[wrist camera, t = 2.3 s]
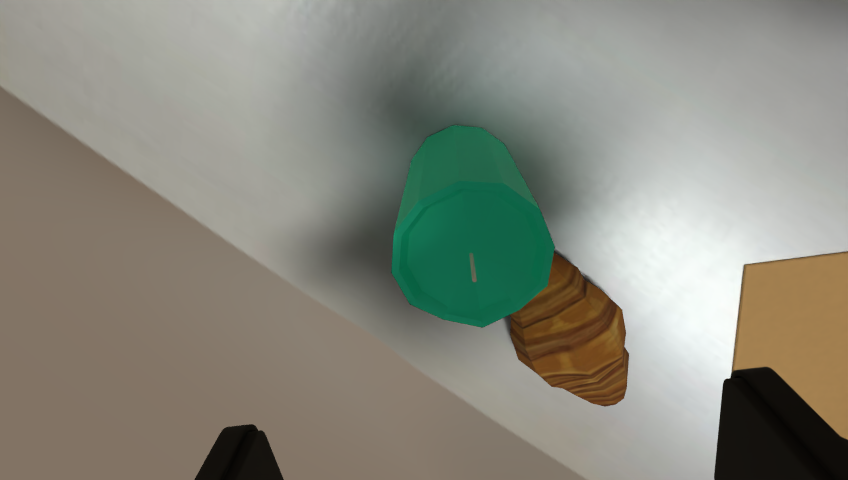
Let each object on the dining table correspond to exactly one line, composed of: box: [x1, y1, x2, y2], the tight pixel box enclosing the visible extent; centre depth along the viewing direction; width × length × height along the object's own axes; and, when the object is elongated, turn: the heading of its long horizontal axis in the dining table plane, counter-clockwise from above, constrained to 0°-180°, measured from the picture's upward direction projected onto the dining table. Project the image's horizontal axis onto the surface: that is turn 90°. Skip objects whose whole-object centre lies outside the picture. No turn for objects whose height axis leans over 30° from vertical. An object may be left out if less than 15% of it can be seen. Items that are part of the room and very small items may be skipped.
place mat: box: [732, 252, 848, 440], centre depth 31 cm, size 20×14×1 cm
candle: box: [391, 125, 555, 328], centre depth 21 cm, size 6×6×12 cm
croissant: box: [510, 253, 629, 406], centre depth 28 cm, size 14×7×5 cm, turn 33°
